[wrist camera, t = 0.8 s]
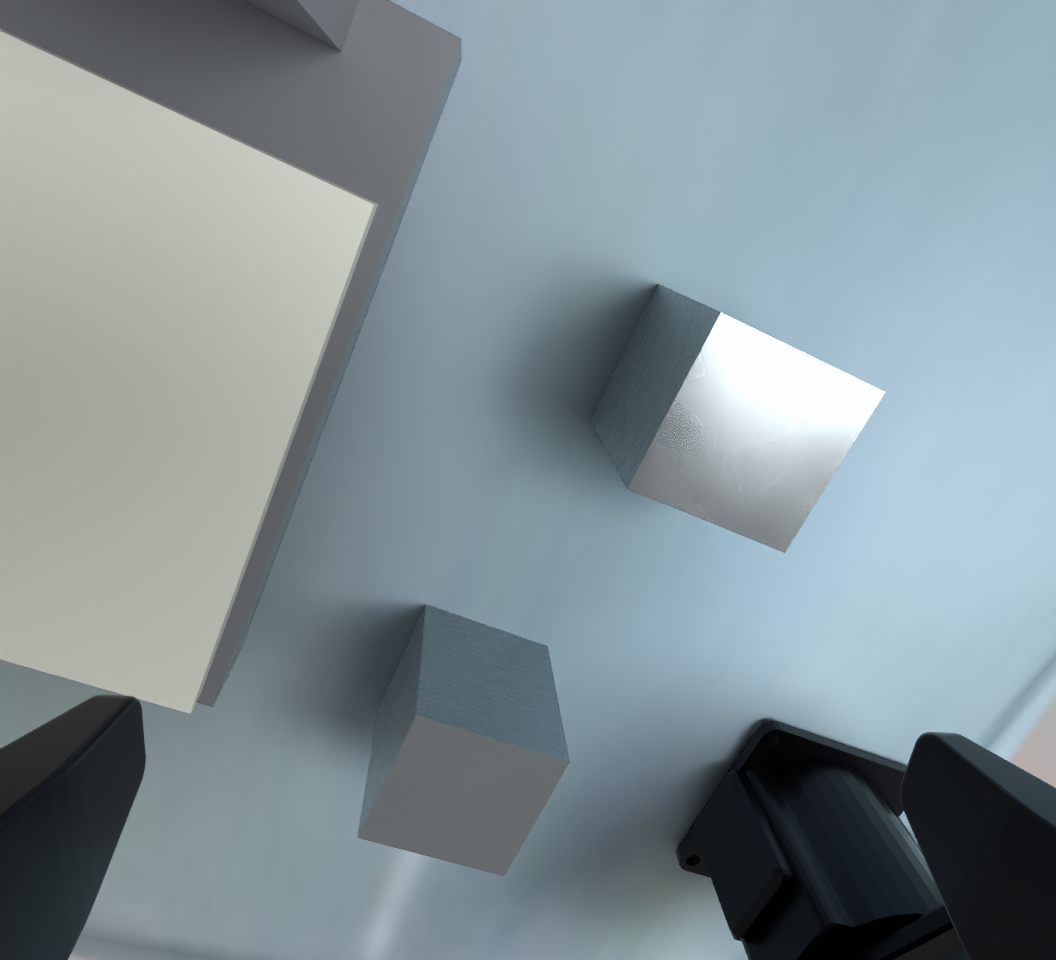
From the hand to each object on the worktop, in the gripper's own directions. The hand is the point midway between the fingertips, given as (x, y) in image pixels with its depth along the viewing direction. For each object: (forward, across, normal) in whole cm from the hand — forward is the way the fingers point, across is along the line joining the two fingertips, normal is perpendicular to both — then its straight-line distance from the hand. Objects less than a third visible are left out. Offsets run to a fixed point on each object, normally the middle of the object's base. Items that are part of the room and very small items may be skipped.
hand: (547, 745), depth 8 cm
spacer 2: (+12, -5, -2) cm, 13 cm away
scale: (+12, +9, -1) cm, 15 cm away
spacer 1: (+12, 0, +8) cm, 15 cm away
